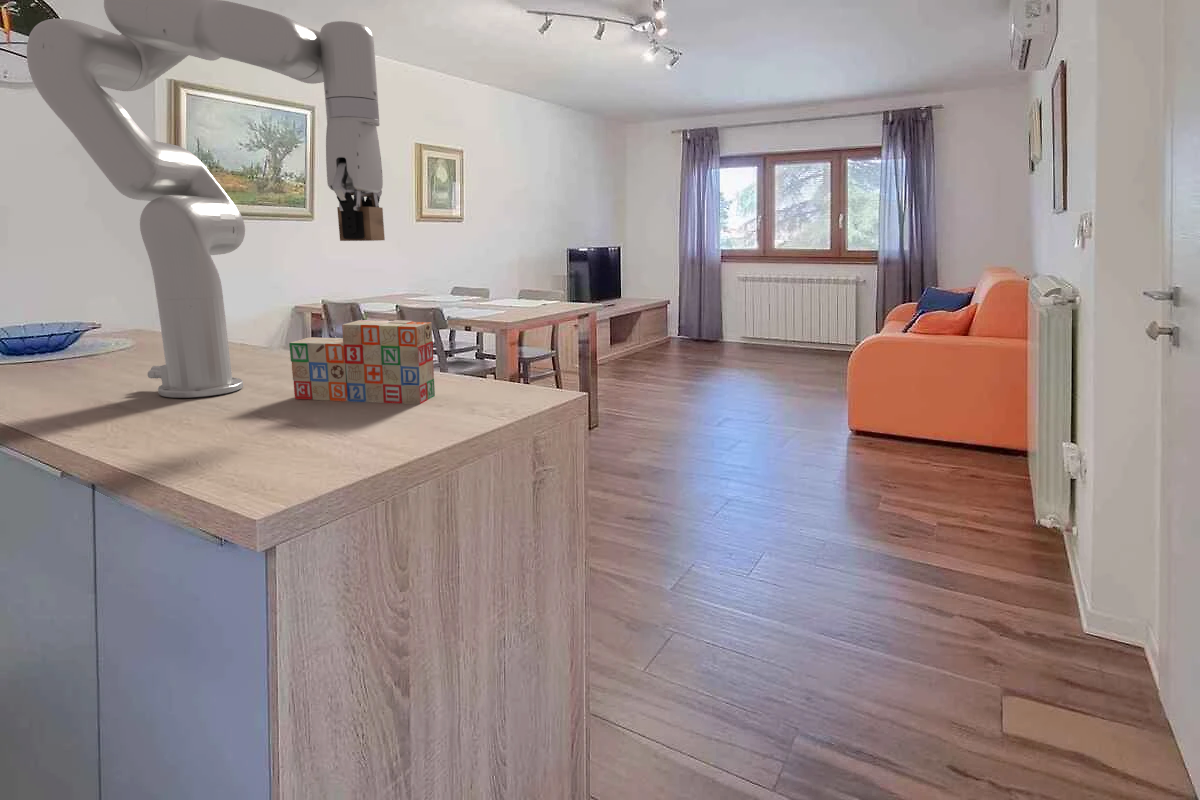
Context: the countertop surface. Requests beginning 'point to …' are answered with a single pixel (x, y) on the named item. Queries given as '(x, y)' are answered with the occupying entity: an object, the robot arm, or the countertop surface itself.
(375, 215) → the walnut cube
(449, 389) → the countertop surface
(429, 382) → the stack of blocks
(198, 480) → the countertop surface
